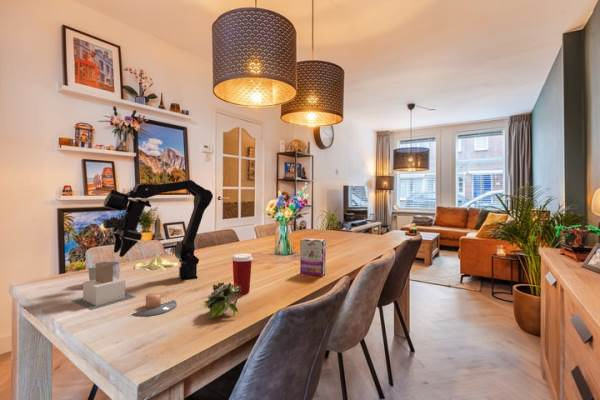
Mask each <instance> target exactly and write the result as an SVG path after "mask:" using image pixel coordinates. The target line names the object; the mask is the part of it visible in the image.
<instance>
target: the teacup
mask: <svg viewBox="0 0 600 400" xmlns="http://www.w3.org/2000/svg"><path fill="white" fill-rule="evenodd" d="M107 262H108V263H112V264H113V277H116V278H119V279H120V277H121V262H120V261H119V260H112V261H107ZM87 269H88V279H89V281H91V280H95V279H96V263H92V264H90V265H88V267H87Z"/></svg>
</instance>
